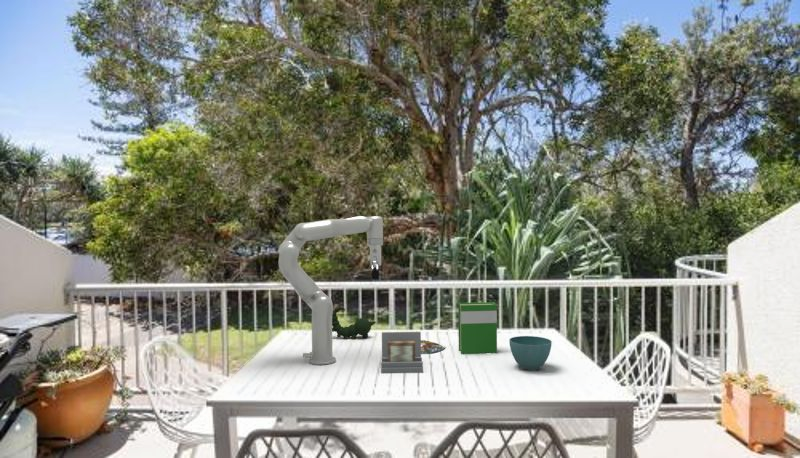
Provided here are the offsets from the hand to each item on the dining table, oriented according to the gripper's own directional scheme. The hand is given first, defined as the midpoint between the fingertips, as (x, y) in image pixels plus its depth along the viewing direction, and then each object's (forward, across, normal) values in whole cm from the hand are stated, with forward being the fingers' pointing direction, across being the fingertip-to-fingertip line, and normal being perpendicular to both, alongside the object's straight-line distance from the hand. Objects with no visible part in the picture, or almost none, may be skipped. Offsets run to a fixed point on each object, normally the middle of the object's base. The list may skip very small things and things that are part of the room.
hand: (375, 277), depth 265 cm
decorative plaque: (+39, +17, -20) cm, 47 cm away
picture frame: (+36, -22, -12) cm, 44 cm away
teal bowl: (+38, -22, -69) cm, 82 cm away
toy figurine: (+39, +40, +14) cm, 57 cm away
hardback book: (+38, +6, -50) cm, 63 cm away
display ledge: (+38, -19, -12) cm, 44 cm away
